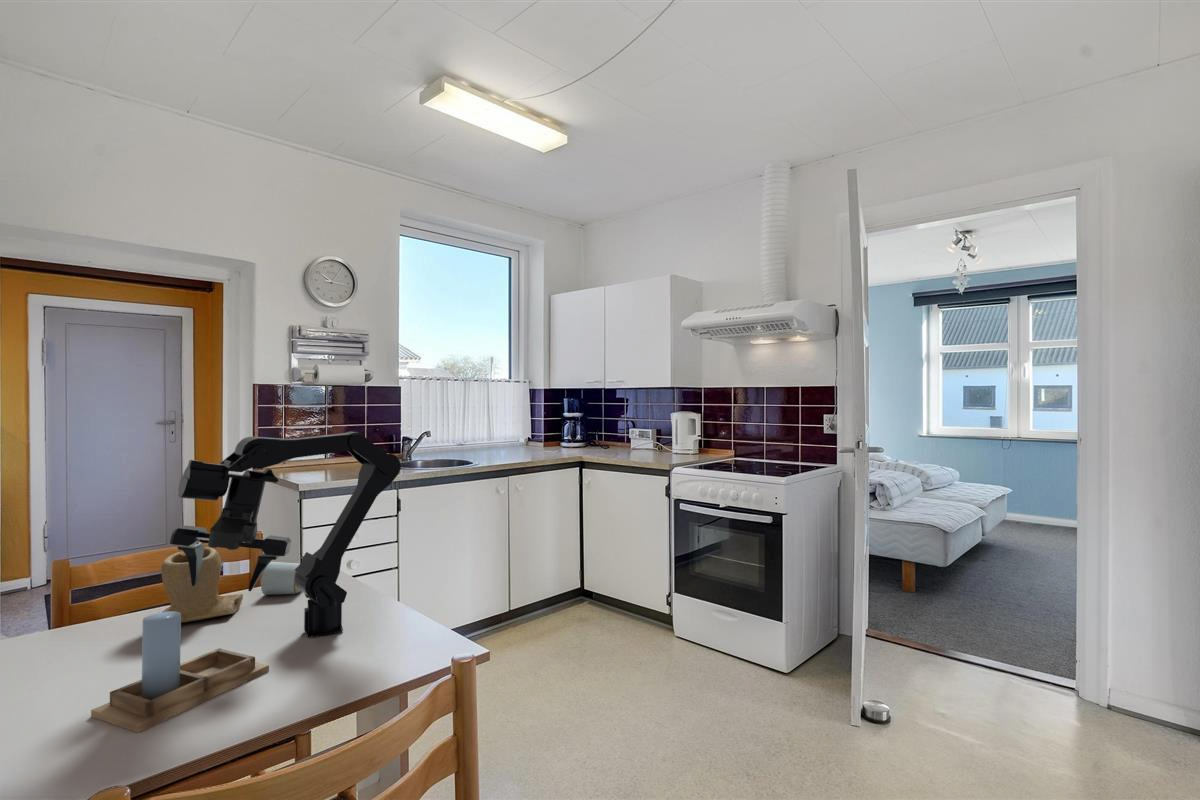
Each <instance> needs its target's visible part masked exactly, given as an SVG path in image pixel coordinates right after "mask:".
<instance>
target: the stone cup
mask: <svg viewBox="0 0 1200 800" xmlns="http://www.w3.org/2000/svg"><path fill="white" fill-rule="evenodd" d="M221 571H222V559H221V556H220V553H219V552H218V551H217V550H216V548H212V547H209V546H208V547H207V546H205V549H204V554H203V559H202V564H201V569H200V574H199V578H198V581H197V584H196V585H195V586H192V583H191V576H190V569H189V563H188V560H187V557H186V555H185V553H184V552H183V551H179V552H176V553H173V554H171V555H169V556H167V558H165V559H164V560H163V561H162V564H161V567H160V572H161V573H160V574H161V579H162V585H163V587H164V589H165V592H166V594H167V596H168V598H169V601H170V605H169V607H166V608H165V609H164V610H162V611H161V612H169V611H175V612H180V613H181V624H182V623H187V622H195V621H201V620H206V619H211V618H217V617H222V616H229V615H231V614H232V615H233V614H235V613H236V612H237V611H238V609H239V608H240V607H241V605H242V602H243V599H244V594H243V593H236V594H231V595H220V594H219V592H218V588H219V582H220V577H221Z"/></svg>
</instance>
